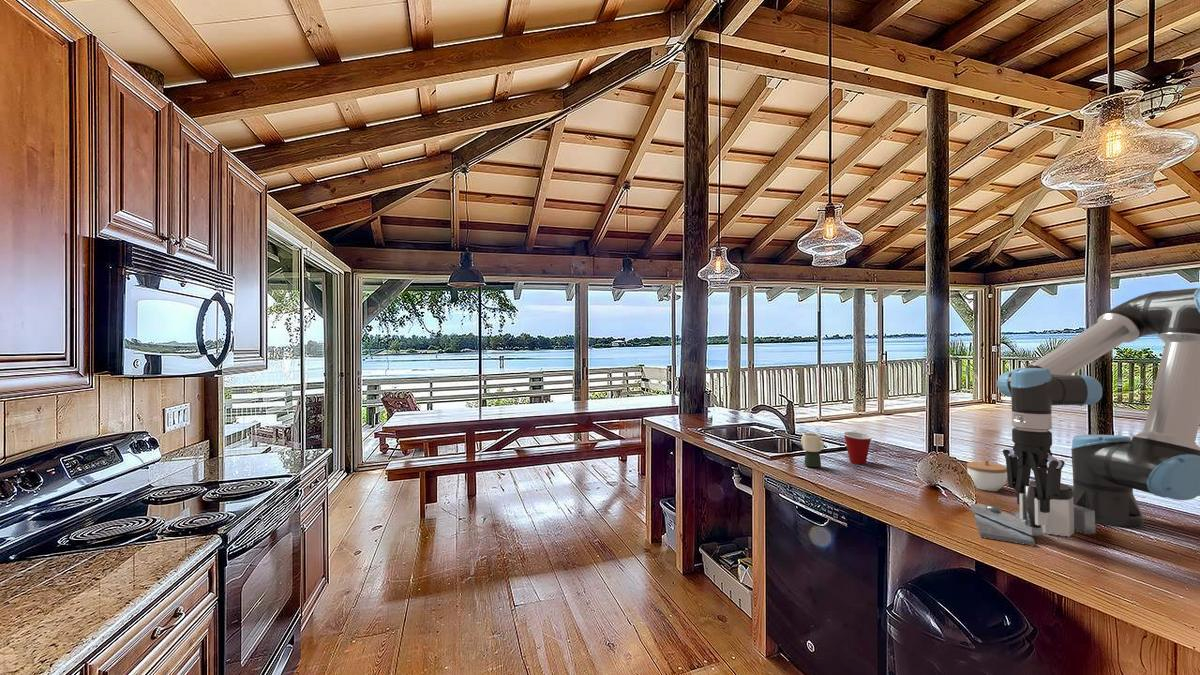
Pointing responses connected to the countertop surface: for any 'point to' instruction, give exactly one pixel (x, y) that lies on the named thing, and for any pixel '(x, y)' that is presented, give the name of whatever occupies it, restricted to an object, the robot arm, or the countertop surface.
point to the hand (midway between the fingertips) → (1033, 521)
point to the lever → (1012, 521)
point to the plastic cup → (857, 446)
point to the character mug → (812, 448)
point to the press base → (1001, 530)
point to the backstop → (1084, 520)
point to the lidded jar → (987, 475)
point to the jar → (1060, 513)
